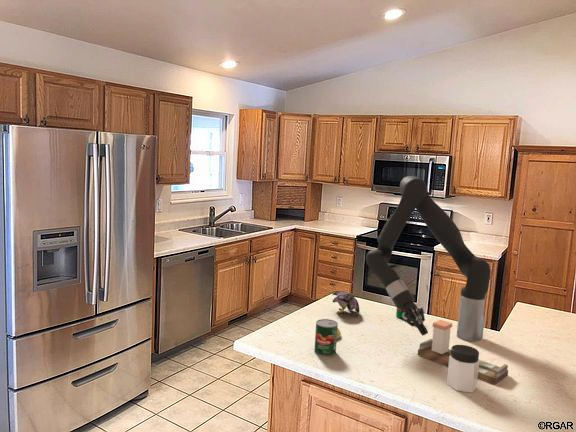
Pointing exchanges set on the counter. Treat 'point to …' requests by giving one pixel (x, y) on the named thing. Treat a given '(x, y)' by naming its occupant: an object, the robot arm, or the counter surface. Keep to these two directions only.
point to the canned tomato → (326, 337)
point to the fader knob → (441, 336)
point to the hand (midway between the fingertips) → (425, 334)
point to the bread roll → (338, 333)
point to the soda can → (399, 313)
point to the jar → (463, 368)
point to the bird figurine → (346, 301)
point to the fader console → (485, 369)
